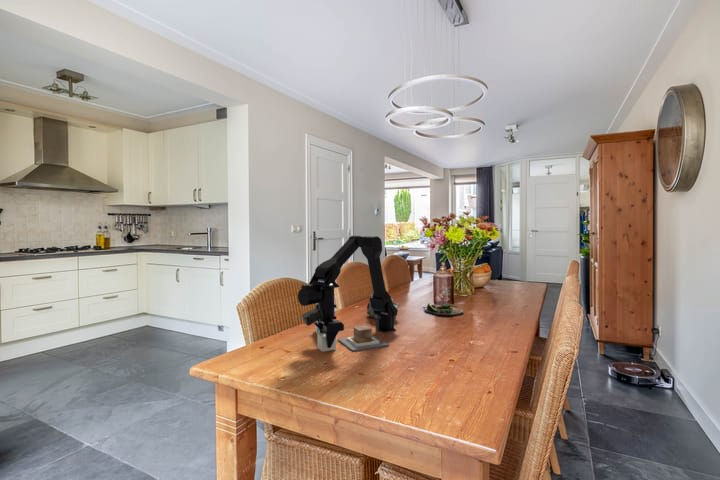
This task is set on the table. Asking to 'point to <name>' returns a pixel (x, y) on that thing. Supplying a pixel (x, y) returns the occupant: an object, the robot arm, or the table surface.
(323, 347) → the sage block
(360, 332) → the walnut block
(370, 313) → the lucky cat figurine
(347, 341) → the square panel
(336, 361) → the table surface
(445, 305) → the salad plate
